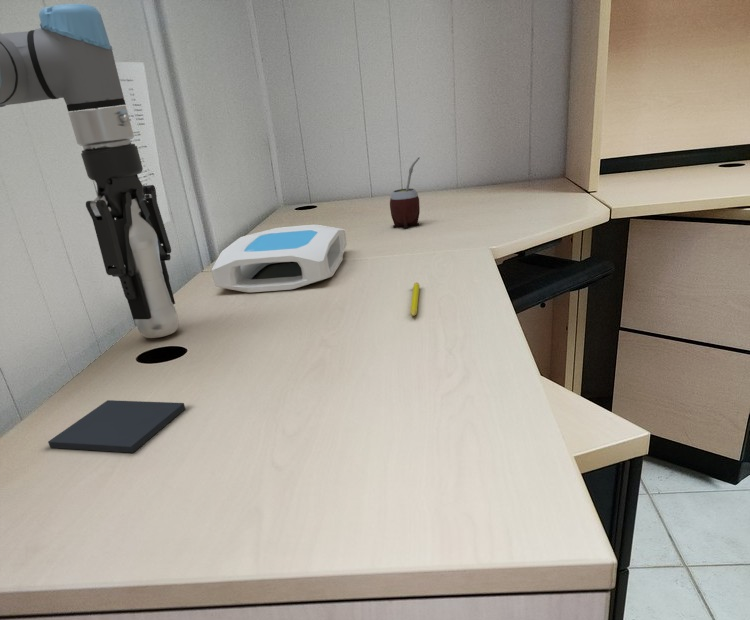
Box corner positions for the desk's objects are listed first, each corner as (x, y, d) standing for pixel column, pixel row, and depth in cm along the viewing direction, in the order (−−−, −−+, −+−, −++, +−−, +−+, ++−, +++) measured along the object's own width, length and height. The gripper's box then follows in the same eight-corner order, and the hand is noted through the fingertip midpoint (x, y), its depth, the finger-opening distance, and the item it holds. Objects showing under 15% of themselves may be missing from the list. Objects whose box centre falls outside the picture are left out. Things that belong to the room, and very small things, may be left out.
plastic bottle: (131, 342, 104) (89, 205, 93) (158, 327, 109) (121, 196, 98) (164, 343, 101) (125, 203, 91) (190, 329, 107) (156, 194, 96)
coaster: (50, 447, 74) (47, 441, 73) (109, 405, 83) (107, 399, 82) (133, 453, 71) (130, 446, 70) (185, 408, 79) (184, 402, 79)
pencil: (413, 288, 113) (413, 282, 112) (419, 288, 113) (419, 282, 112) (410, 319, 99) (409, 312, 98) (416, 318, 99) (416, 312, 98)
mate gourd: (393, 224, 164) (387, 157, 155) (424, 221, 162) (420, 153, 154) (390, 230, 157) (384, 160, 149) (423, 227, 156) (419, 157, 148)
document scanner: (348, 251, 143) (344, 221, 139) (326, 287, 119) (321, 252, 116) (254, 259, 146) (248, 229, 142) (215, 295, 123) (207, 261, 119)
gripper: (86, 151, 82) (140, 332, 94) (168, 135, 97) (206, 292, 110) (37, 156, 84) (96, 332, 97) (125, 139, 99) (167, 293, 112)
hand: (154, 311), depth 103 cm, fingers closed on plastic bottle, 6 cm apart
